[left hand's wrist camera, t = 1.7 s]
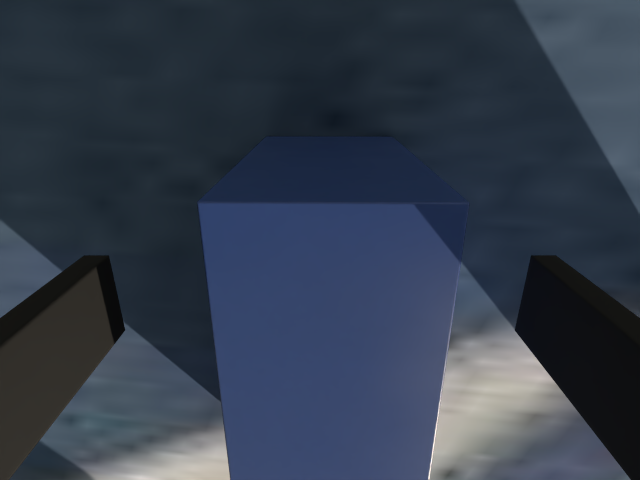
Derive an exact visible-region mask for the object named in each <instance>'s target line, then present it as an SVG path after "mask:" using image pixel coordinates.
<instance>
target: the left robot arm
mask: <svg viewBox="0 0 640 480" xmlns="http://www.w3.org/2000/svg"><path fill="white" fill-rule="evenodd" d="M124 331H125V327H124V323H123V318H122V314H121V309H120V304H119V300H118V295H117V291H116V286H115V282H114V277H113V272H112V268H111V263H110V259H109V256H83V257H82V258H80V259H79V260H78V261H76V262H75V263H73V264H72V265H71V266H69V267H68V268H67V269H65V270H64V271H63V272H61V273H60V274H59V275H57V276H56V277H55V278H53V279H52V280H51V281H49V282H48V283H47V284H45V285H44V286H43V287H41V288H40V289H39V290H37V291H36V292H35V293H33V294H32V295H31V296H29V297H28V298H27V299H25V300H24V301H23V302H21V303H20V304H19V305H17V306H16V307H15V308H13V309H12V310H11V311H9V312H8V313H7V314H5V315H4V316H3V317H1V318H0V480H9V479H10V478H11V476H12V475H13V474H14V473H15V471H16V470H17V469H18V467H19V466H20V465H21V464H22V462H23V461H24V460H25V458H26V457H27V456H28V455H29V453H30V452H31V451H32V449H33V448H34V447H35V446H36V444H37V443H38V442H39V440H40V439H41V438H42V437H43V435H44V434H45V433H46V431H47V430H48V429H49V428H50V426H51V425H52V424H53V422H54V421H55V420H56V419H57V417H58V416H59V415H60V413H61V412H62V411H63V410H64V408H65V407H66V406H67V404H68V403H69V402H70V401H71V399H72V398H73V397H74V395H75V394H76V393H77V392H78V390H79V389H80V388H81V386H82V385H83V384H84V383H85V381H86V380H87V379H88V377H89V376H90V375H91V373H92V372H93V371H94V370H95V368H96V367H97V366H98V364H99V363H100V362H101V361H102V359H103V358H104V357H105V355H106V354H107V353H108V352H109V350H110V349H111V348H112V346H113V345H114V344H115V343H116V341H117V340H118V339H119V337H120V336H121V335H122V334H123V332H124ZM515 331H516V332H517V334H518V335H519V336H520V337H521V339H522V340H523V341H524V343H525V344H526V345H527V346H528V348H529V349H530V350H531V352H532V353H533V354H534V355H535V357H536V358H537V359H538V361H539V362H540V363H541V364H542V366H543V367H544V368H545V370H546V371H547V372H548V373H549V375H550V376H551V377H552V379H553V380H554V381H555V383H556V384H557V385H558V386H559V388H560V389H561V390H562V392H563V393H564V394H565V395H566V397H567V398H568V399H569V401H570V402H571V403H572V404H573V406H574V407H575V408H576V410H577V411H578V412H579V413H580V415H581V416H582V417H583V419H584V420H585V421H586V422H587V424H588V425H589V426H590V428H591V429H592V430H593V431H594V433H595V434H596V435H597V437H598V438H599V439H600V440H601V442H602V443H603V444H604V446H605V447H606V448H607V449H608V451H609V452H610V453H611V455H612V456H613V457H614V458H615V460H616V461H617V462H618V464H619V465H620V466H621V467H622V469H623V470H624V471H625V473H626V474H627V475H628V476H629V478H630V479H631V480H640V318H639V317H637V316H636V315H635V314H633V313H632V312H631V311H629V310H628V309H627V308H625V307H624V306H623V305H621V304H620V303H619V302H617V301H616V300H615V299H613V298H612V297H611V296H609V295H608V294H607V293H605V292H604V291H603V290H601V289H600V288H599V287H597V286H596V285H595V284H593V283H592V282H591V281H589V280H588V279H587V278H585V277H584V276H583V275H581V274H580V273H579V272H577V271H576V270H575V269H573V268H572V267H571V266H569V265H568V264H567V263H565V262H564V261H562V260H561V259H560V258H558V257H557V256H531V259H530V263H529V268H528V272H527V277H526V282H525V286H524V291H523V295H522V300H521V304H520V309H519V314H518V318H517V323H516V327H515Z"/></svg>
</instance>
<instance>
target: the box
mask: <svg viewBox="0 0 640 480" xmlns="http://www.w3.org/2000/svg"><path fill="white" fill-rule="evenodd" d="M197 206H198V215H199V223H200V231H201V240H202V248H203V256H204V264H205V273H206V281H207V289H208V298H209V306H210V314H211V323H212V331H213V339H214V348H215V356H216V364H217V372H218V381H219V389H220V397H221V406H222V414H223V422H224V431H225V439H226V447H227V455H228V464H229V472H230V480H429V477H430V470H431V463H432V456H433V449H434V443H435V436H436V429H437V422H438V415H439V409H440V402H441V395H442V388H443V381H444V374H445V368H446V361H447V354H448V347H449V340H450V333H451V327H452V320H453V313H454V306H455V299H456V293H457V286H458V279H459V272H460V265H461V258H462V252H463V245H464V238H465V231H466V224H467V217H468V211H469V202H468V201H466V200H465V199H464V198H463V197H462V196H461V195H460V194H458V193H457V192H456V191H455V190H454V189H453V188H451V187H450V186H449V185H448V184H447V183H446V182H445V181H443V180H442V179H441V178H440V177H439V176H438V175H436V174H435V173H434V172H433V171H432V170H431V169H429V168H428V167H427V166H426V165H425V164H424V163H423V162H421V161H420V160H419V159H418V158H417V157H416V156H414V155H413V154H412V153H411V152H410V151H409V150H407V149H406V148H405V147H404V146H403V145H402V144H401V143H399V142H398V141H397V140H396V139H395V138H394V137H359V136H266V137H265V138H264V139H263V140H262V141H261V142H260V143H259V144H258V145H256V146H255V147H254V148H253V149H252V150H251V151H250V152H249V153H248V154H247V155H246V156H245V157H244V158H243V159H242V160H241V161H240V162H239V163H238V164H237V165H235V166H234V167H233V168H232V169H231V170H230V171H229V172H228V173H227V174H226V175H225V176H224V177H223V178H222V179H221V180H220V181H219V182H218V183H217V184H216V185H214V186H213V187H212V188H211V189H210V190H209V191H208V192H207V193H206V194H205V195H204V196H203V197H202V198H201V199H200V200H199V201H198V202H197Z"/></svg>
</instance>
